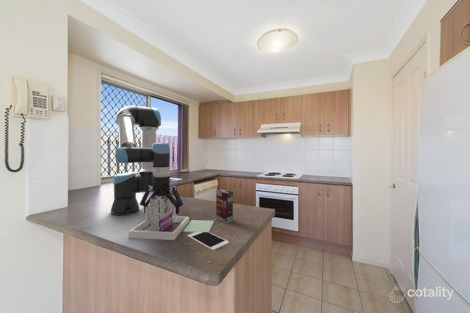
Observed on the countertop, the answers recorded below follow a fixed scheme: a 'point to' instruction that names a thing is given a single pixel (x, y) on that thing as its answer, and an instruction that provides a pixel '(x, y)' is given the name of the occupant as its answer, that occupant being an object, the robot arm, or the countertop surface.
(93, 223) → the countertop surface
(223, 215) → the supplement box
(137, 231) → the tray
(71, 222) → the countertop surface
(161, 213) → the candy bar box
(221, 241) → the cell phone
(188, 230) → the mat
